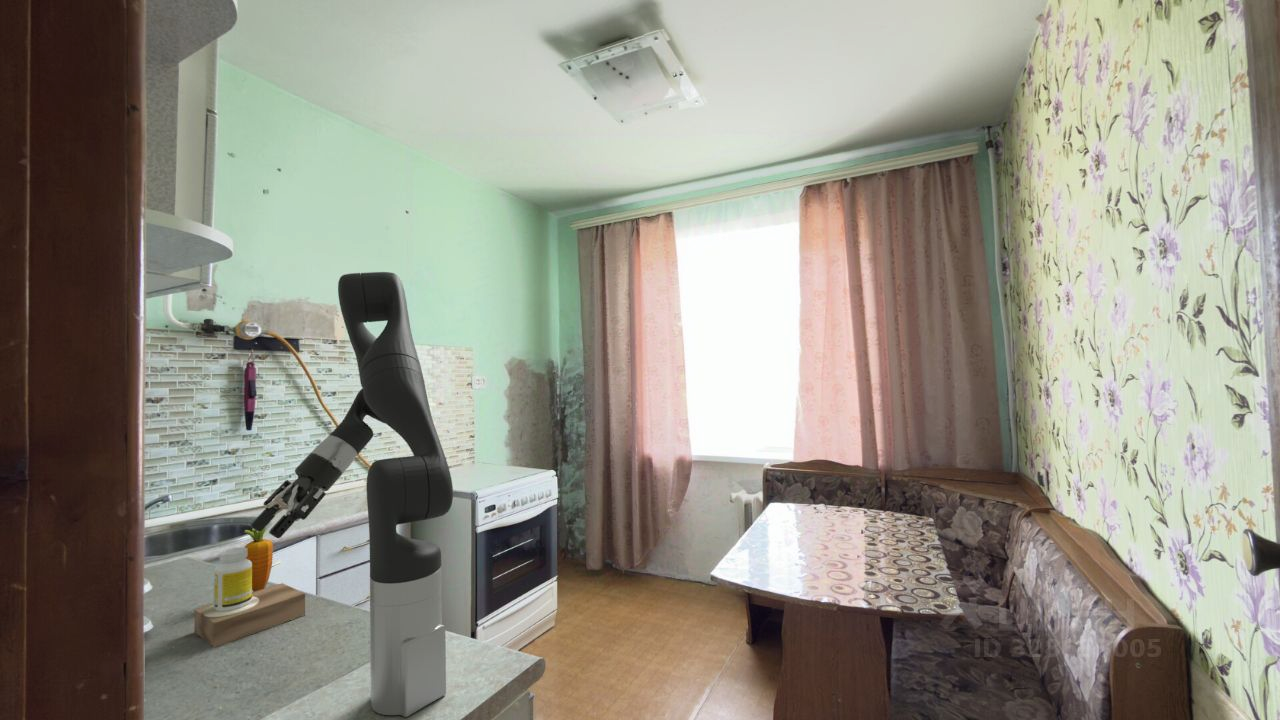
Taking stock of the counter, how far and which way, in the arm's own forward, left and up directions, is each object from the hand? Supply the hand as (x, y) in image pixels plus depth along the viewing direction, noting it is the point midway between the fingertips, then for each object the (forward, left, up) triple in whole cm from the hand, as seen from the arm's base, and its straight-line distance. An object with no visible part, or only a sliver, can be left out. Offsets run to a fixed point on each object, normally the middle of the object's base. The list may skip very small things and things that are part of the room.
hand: (263, 532), depth 99 cm
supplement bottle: (0, +5, -12) cm, 13 cm away
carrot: (+14, -4, -16) cm, 22 cm away
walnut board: (0, +2, -16) cm, 16 cm away
